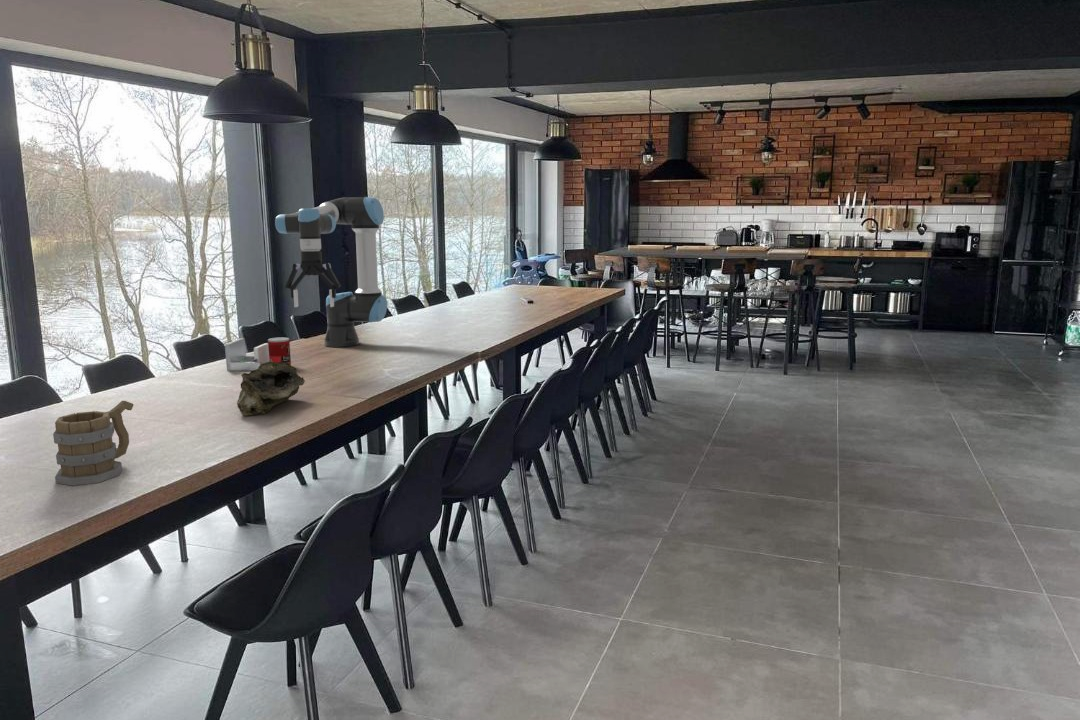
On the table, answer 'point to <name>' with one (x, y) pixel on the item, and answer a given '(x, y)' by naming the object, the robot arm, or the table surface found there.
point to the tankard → (90, 445)
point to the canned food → (279, 350)
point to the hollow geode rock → (267, 387)
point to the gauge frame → (239, 356)
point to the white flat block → (261, 353)
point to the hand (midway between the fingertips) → (314, 306)
